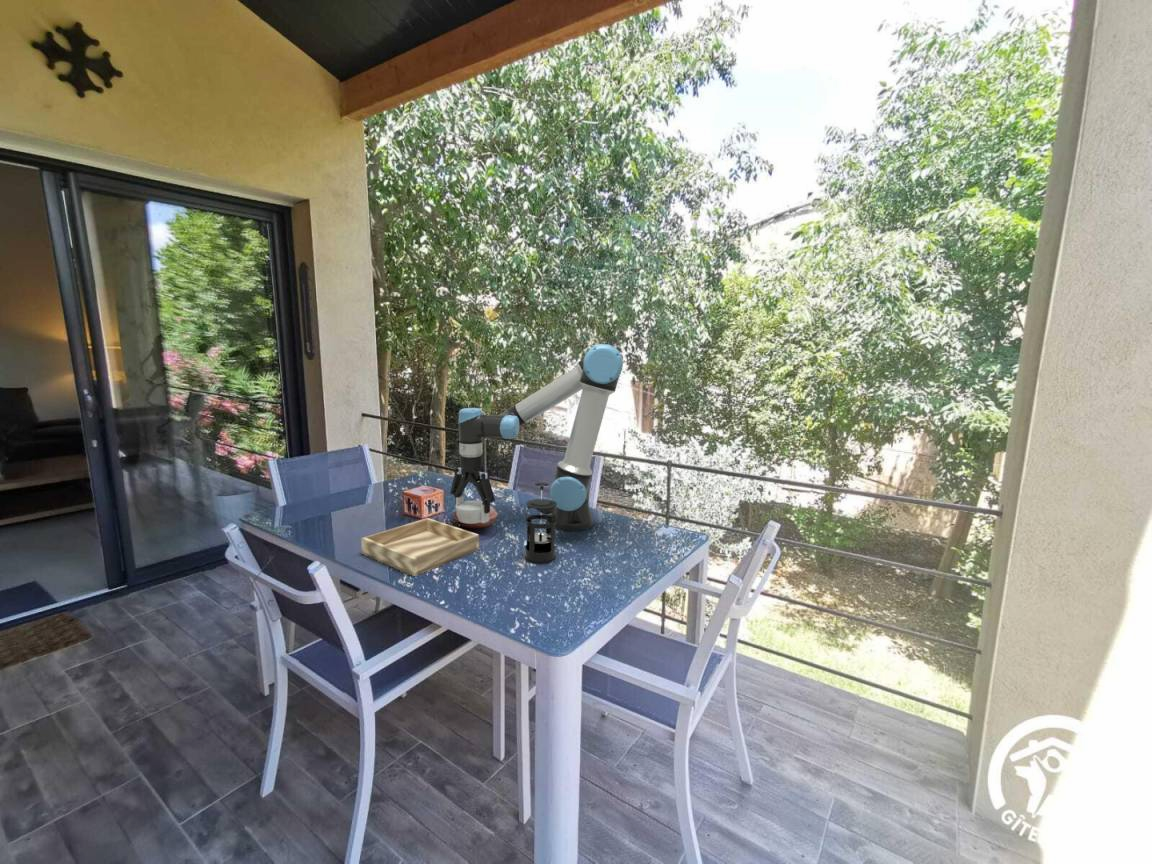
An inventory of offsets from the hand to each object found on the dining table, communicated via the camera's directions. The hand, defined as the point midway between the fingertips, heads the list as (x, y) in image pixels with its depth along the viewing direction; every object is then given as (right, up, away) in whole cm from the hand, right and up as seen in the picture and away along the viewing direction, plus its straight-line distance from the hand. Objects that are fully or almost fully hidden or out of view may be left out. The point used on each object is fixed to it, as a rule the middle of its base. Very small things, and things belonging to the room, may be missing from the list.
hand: (472, 518), depth 171 cm
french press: (+24, -9, -19) cm, 32 cm away
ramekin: (0, -1, 0) cm, 1 cm away
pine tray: (-12, -7, -18) cm, 23 cm away
